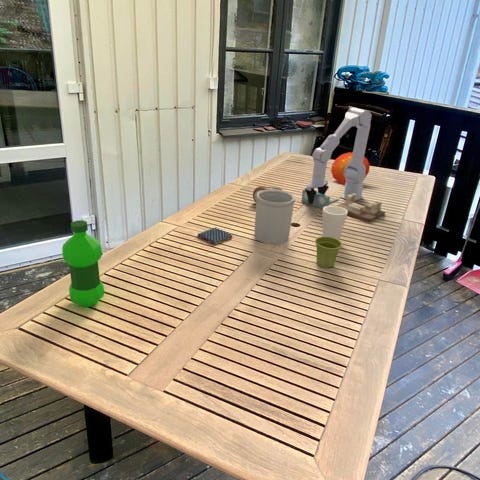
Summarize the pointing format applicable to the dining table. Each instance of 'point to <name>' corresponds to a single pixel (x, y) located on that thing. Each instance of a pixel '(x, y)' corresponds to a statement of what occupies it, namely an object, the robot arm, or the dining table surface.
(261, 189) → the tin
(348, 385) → the dining table surface
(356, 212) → the display stand
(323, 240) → the plant pot
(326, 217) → the foam cup
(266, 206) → the utensil holder
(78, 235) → the plastic bottle
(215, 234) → the woven mat
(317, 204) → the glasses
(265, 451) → the dining table surface
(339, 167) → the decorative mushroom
